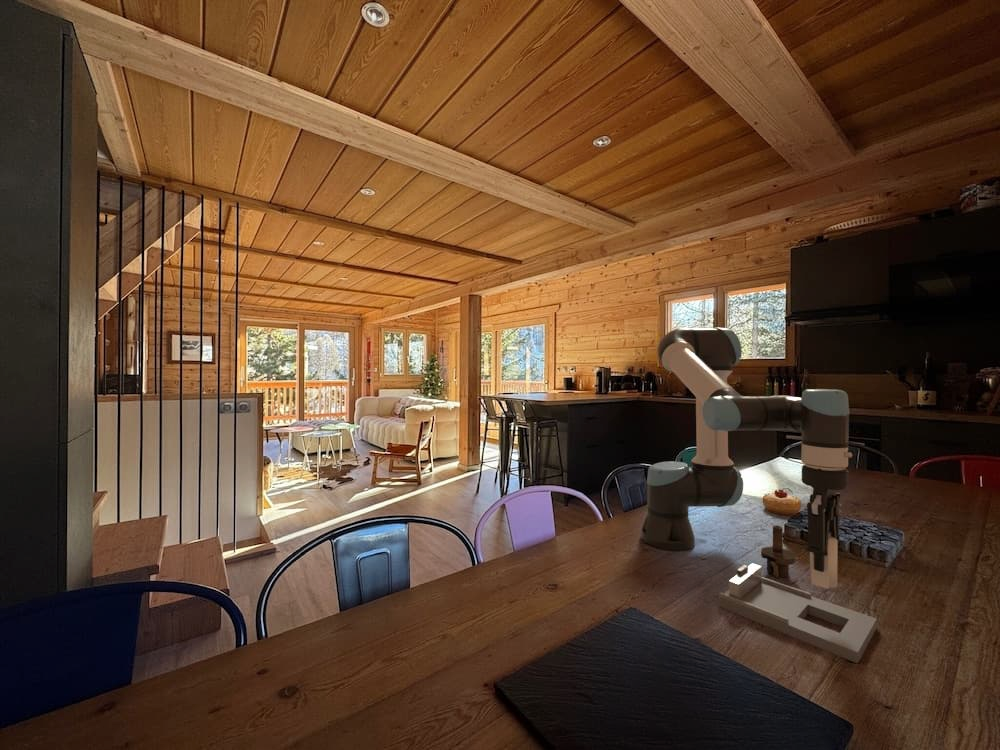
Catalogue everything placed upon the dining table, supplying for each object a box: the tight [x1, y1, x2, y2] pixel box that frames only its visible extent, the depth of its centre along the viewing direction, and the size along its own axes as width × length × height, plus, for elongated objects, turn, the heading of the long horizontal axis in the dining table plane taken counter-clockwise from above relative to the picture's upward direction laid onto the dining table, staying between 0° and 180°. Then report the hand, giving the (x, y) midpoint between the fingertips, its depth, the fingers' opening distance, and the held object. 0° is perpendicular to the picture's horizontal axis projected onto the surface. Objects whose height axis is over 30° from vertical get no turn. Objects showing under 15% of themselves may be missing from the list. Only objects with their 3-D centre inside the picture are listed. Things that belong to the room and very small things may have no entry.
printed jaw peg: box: [809, 532, 839, 589], centre depth 87 cm, size 4×4×10 cm
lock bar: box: [728, 563, 763, 599], centre depth 98 cm, size 2×13×4 cm, turn 130°
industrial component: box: [760, 524, 796, 578], centre depth 110 cm, size 9×7×12 cm
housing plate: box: [718, 576, 878, 664], centre depth 91 cm, size 24×16×3 cm, turn 40°
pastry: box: [762, 487, 802, 516], centre depth 157 cm, size 12×12×9 cm
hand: (824, 581), depth 87 cm, fingers closed on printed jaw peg, 4 cm apart
